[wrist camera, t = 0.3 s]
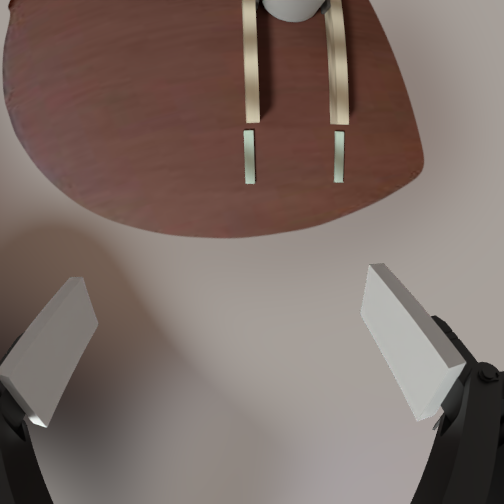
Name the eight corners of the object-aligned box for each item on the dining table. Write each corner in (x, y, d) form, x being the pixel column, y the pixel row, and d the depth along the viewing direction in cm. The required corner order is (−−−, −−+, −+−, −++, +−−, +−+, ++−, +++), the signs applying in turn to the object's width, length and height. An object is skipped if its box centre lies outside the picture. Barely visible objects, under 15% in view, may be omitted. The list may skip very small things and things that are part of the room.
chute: (238, -20, 25) (238, -30, 23) (333, -14, 26) (340, -22, 23) (245, 183, 38) (246, 187, 35) (342, 181, 38) (349, 186, 35)
